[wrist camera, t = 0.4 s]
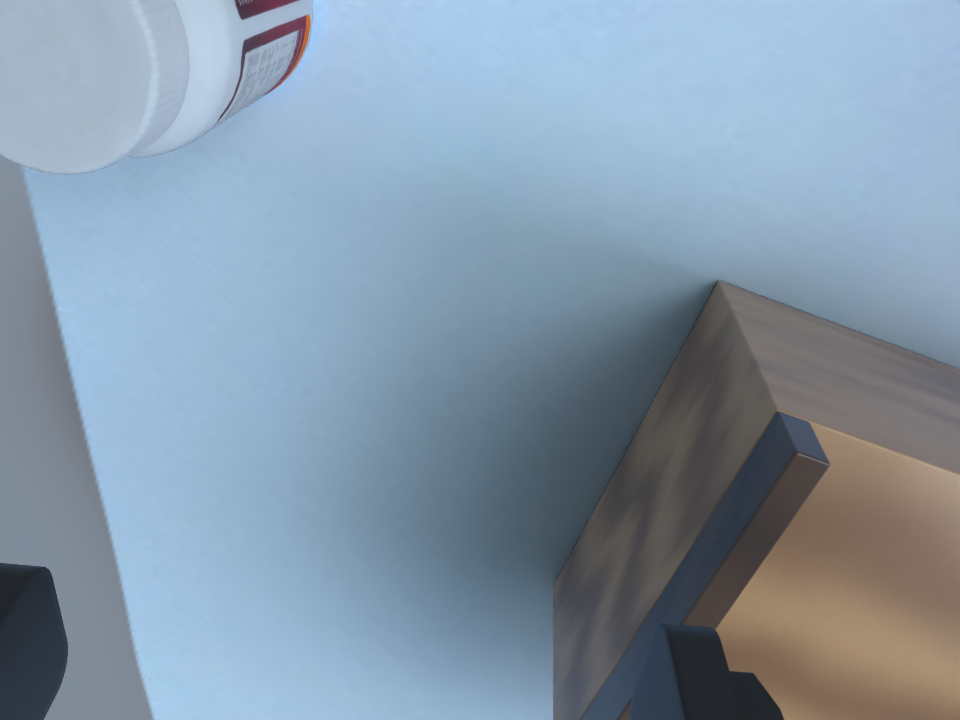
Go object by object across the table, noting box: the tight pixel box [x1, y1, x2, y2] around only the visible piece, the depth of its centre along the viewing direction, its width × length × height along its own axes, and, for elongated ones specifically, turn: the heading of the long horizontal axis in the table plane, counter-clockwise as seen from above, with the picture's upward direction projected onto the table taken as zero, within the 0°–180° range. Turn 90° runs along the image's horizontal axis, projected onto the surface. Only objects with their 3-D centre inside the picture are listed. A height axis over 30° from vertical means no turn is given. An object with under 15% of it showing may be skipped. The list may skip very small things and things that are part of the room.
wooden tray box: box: [553, 281, 960, 720], centre depth 29 cm, size 16×14×12 cm
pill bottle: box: [0, 0, 313, 174], centre depth 22 cm, size 6×6×11 cm
